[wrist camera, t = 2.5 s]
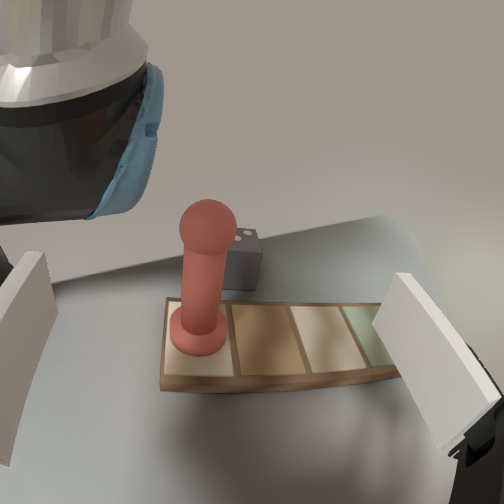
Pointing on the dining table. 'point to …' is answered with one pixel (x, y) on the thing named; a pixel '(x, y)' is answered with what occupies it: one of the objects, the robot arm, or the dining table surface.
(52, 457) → the dining table surface
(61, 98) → the robot arm
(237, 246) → the die
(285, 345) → the board
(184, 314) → the pawn
